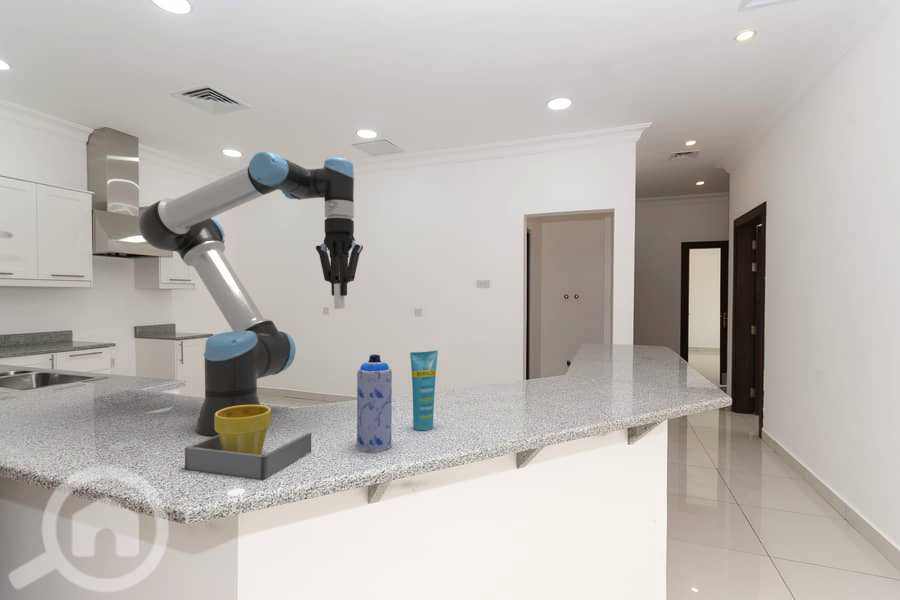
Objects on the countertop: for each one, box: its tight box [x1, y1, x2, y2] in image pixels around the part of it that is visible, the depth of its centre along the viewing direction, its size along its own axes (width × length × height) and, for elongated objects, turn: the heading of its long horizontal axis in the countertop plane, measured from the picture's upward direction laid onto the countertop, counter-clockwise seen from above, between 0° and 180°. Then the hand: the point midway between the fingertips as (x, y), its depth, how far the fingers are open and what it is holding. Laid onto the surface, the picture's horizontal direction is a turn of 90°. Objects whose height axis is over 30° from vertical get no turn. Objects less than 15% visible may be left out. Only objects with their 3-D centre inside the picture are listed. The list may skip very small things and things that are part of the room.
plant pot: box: [214, 404, 272, 455], centre depth 92 cm, size 10×10×10 cm
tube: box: [409, 350, 439, 431], centre depth 114 cm, size 7×5×19 cm, turn 123°
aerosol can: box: [355, 354, 393, 453], centre depth 100 cm, size 8×8×20 cm
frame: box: [184, 432, 312, 481], centre depth 91 cm, size 18×15×4 cm
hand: (339, 308), depth 120 cm, fingers closed
